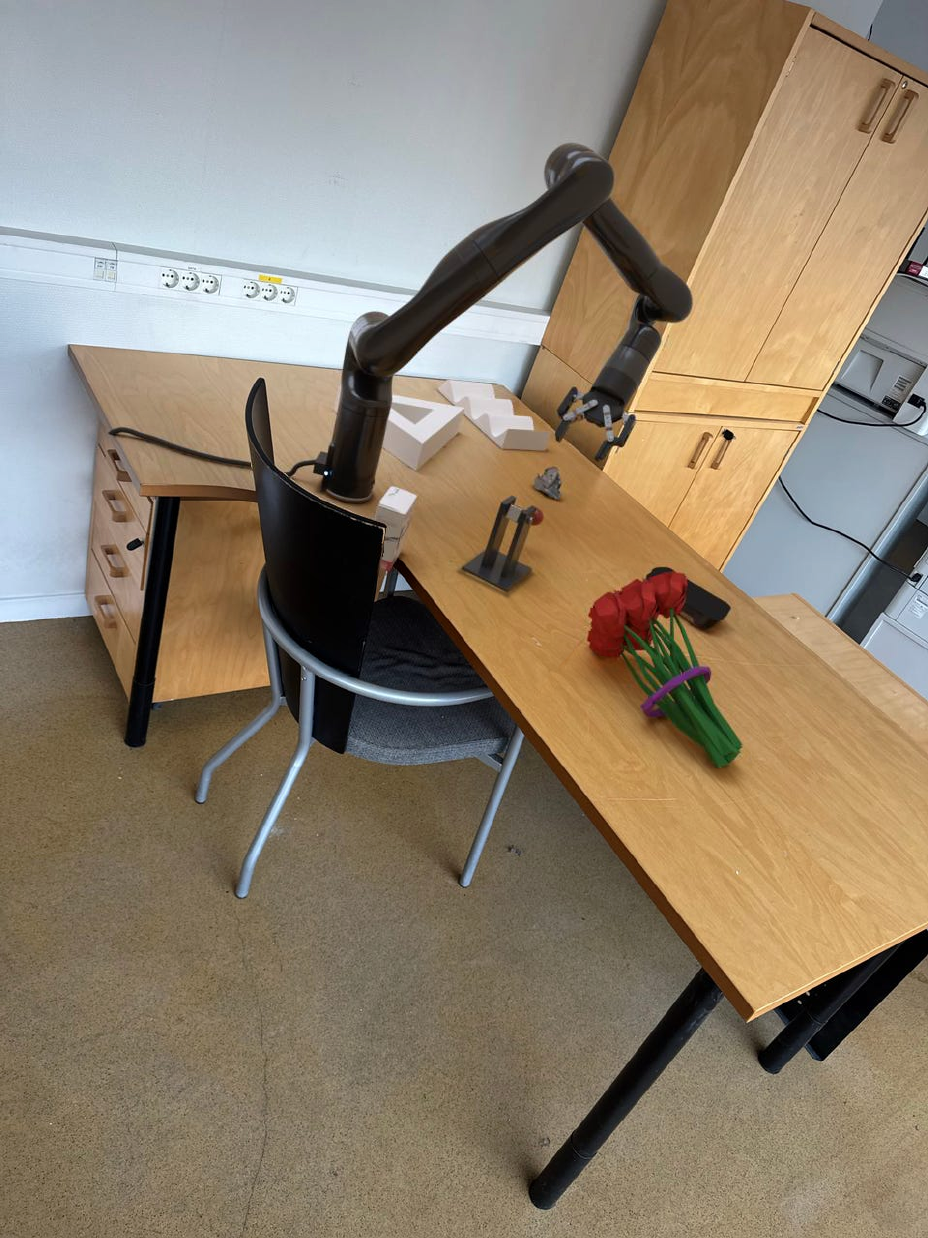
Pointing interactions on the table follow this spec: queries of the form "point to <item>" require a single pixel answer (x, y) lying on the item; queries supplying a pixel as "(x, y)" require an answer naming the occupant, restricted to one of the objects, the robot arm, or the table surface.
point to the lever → (516, 512)
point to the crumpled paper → (549, 482)
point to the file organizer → (495, 416)
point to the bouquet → (663, 659)
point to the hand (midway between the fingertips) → (576, 450)
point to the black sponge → (698, 603)
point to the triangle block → (417, 428)
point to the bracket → (496, 564)
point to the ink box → (394, 522)
